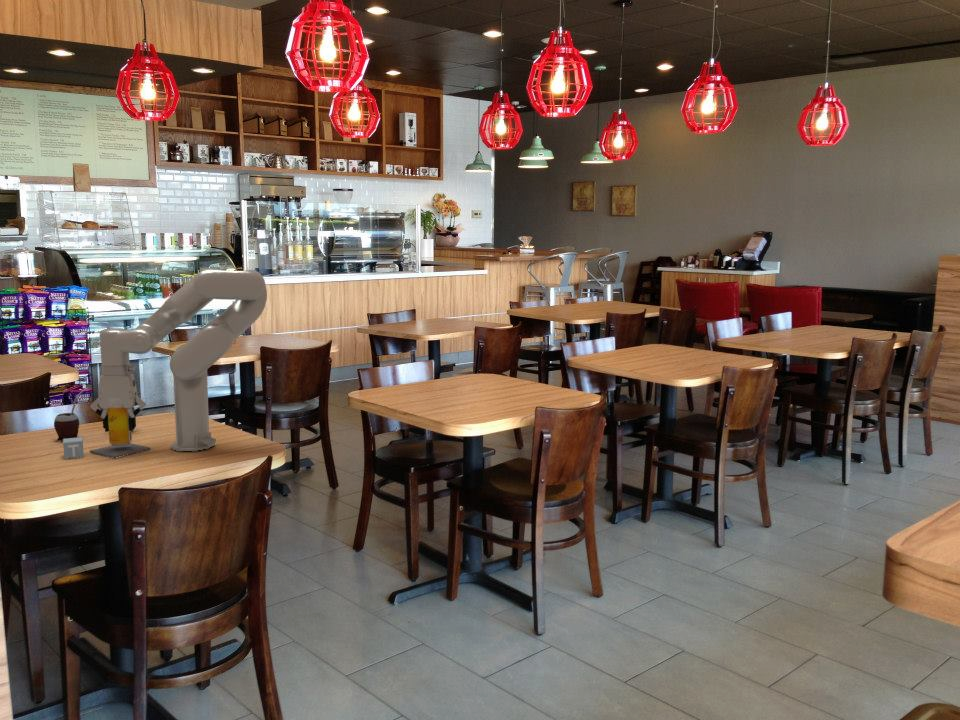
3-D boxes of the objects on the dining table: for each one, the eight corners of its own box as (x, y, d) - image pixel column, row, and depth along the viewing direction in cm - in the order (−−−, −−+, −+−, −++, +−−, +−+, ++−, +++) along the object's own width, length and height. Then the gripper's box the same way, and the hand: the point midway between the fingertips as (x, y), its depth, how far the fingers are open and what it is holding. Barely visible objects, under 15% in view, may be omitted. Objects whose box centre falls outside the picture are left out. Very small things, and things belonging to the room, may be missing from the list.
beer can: (111, 442, 242) (107, 393, 240) (133, 441, 244) (129, 392, 241) (108, 447, 236) (104, 397, 234) (130, 446, 238) (127, 396, 236)
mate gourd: (50, 442, 250) (47, 394, 248) (64, 436, 258) (60, 389, 255) (74, 442, 250) (71, 394, 247) (87, 436, 258) (84, 390, 255)
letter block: (64, 455, 235) (63, 438, 234) (83, 453, 237) (82, 437, 237) (64, 459, 231) (63, 442, 230) (83, 457, 233) (82, 441, 232)
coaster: (150, 449, 242) (150, 447, 242) (114, 458, 232) (114, 456, 232) (126, 443, 248) (125, 442, 248) (89, 452, 238) (89, 450, 238)
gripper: (150, 368, 241) (153, 426, 244) (89, 369, 239) (93, 428, 242) (143, 372, 234) (147, 432, 237) (80, 373, 232) (84, 434, 234)
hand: (119, 429), depth 239 cm, fingers closed on beer can, 6 cm apart
